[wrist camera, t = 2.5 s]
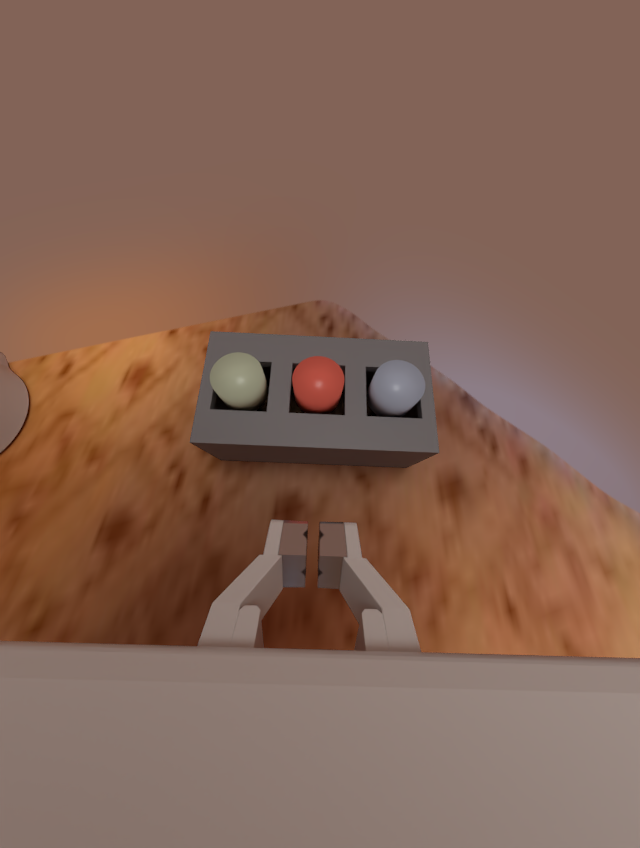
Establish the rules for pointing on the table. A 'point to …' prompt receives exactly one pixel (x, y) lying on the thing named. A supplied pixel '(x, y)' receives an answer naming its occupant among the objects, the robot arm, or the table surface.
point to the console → (315, 433)
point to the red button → (318, 385)
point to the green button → (239, 381)
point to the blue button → (395, 389)
